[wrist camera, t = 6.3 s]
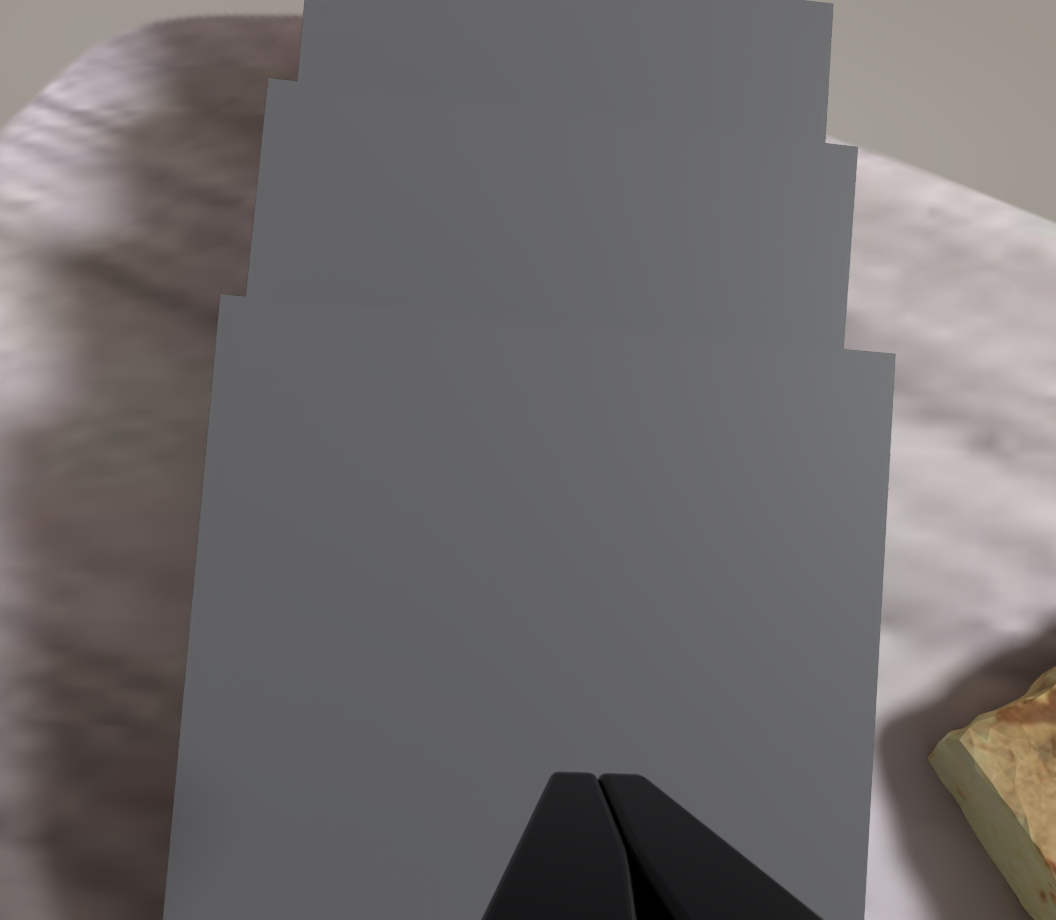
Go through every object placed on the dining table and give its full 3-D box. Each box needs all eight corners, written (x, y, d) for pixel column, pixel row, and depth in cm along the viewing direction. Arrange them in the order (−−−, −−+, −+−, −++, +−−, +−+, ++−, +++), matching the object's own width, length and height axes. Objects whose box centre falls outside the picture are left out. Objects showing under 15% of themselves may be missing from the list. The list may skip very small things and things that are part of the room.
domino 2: (816, 734, 14) (857, 147, 14) (204, 690, 13) (268, 77, 14) (781, 710, 15) (819, 181, 16) (233, 669, 15) (289, 120, 15)
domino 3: (803, 520, 16) (832, 3, 16) (261, 481, 15) (309, -57, 15) (772, 518, 17) (801, 47, 18) (281, 482, 17) (324, -5, 17)
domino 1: (857, 1033, 12) (895, 353, 13) (154, 1010, 12) (219, 294, 12) (812, 971, 14) (848, 368, 14) (193, 947, 13) (250, 317, 14)
